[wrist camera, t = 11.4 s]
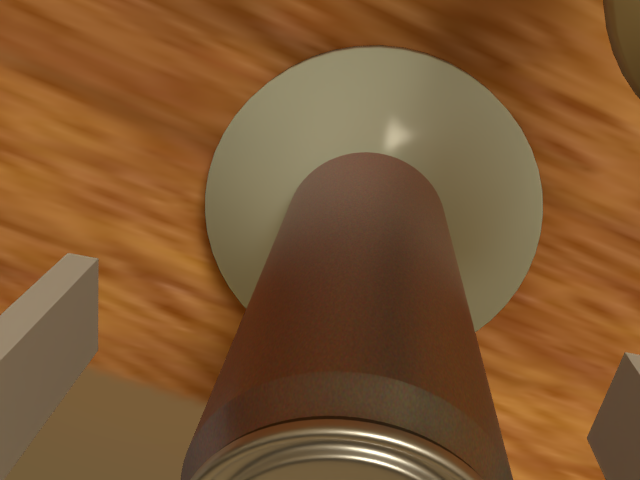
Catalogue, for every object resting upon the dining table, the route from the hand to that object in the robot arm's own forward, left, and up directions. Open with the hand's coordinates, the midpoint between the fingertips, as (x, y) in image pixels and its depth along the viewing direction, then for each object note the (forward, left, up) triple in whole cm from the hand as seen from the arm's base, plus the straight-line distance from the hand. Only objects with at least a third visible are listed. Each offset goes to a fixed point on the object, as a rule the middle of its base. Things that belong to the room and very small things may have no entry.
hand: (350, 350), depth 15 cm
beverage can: (0, 0, -9) cm, 9 cm away
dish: (0, 0, -10) cm, 10 cm away
